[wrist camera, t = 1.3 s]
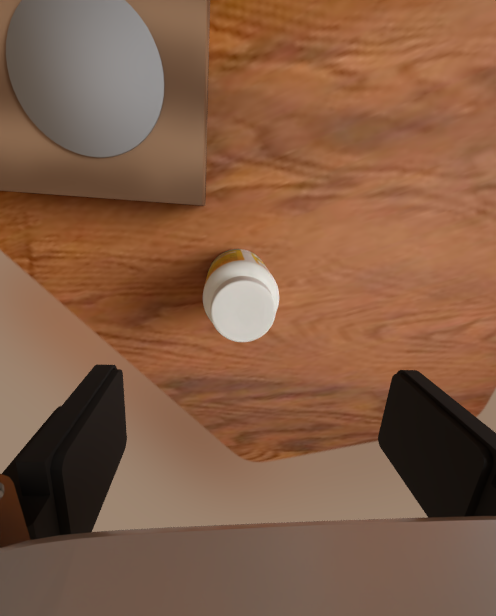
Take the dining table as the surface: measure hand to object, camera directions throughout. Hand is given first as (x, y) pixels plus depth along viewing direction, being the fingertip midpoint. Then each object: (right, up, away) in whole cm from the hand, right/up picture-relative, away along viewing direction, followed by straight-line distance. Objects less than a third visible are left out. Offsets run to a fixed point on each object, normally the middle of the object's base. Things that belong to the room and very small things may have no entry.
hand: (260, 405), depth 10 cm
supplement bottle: (-1, +6, +17) cm, 18 cm away
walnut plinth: (-10, +19, +12) cm, 25 cm away
